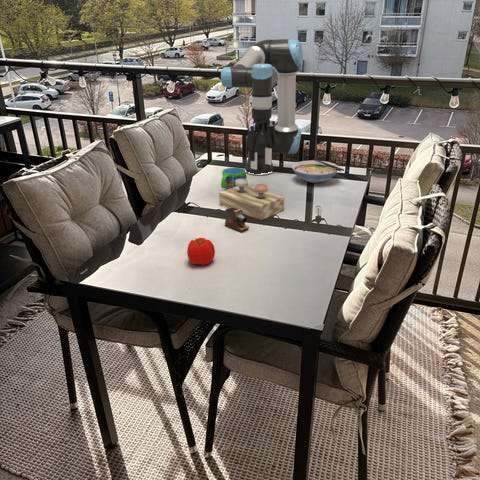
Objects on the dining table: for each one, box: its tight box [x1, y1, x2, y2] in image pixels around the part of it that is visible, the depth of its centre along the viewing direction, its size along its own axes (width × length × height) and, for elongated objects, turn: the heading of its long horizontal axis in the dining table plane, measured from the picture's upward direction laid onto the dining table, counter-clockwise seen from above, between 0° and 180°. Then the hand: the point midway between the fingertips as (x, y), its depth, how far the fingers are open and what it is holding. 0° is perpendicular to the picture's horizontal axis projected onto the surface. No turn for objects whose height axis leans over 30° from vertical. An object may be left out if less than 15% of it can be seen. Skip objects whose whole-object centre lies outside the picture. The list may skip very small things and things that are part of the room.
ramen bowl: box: [291, 158, 345, 184], centre depth 226 cm, size 25×23×8 cm
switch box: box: [219, 185, 285, 221], centre depth 194 cm, size 14×24×6 cm, turn 46°
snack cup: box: [220, 167, 248, 190], centre depth 212 cm, size 16×10×10 cm
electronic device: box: [224, 208, 251, 233], centre depth 175 cm, size 4×10×8 cm, turn 44°
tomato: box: [186, 237, 216, 266], centre depth 150 cm, size 9×9×8 cm
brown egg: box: [254, 183, 268, 199], centre depth 189 cm, size 5×5×6 cm
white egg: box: [235, 179, 249, 193], centre depth 196 cm, size 5×5×6 cm
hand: (261, 166), depth 184 cm, fingers open, 8 cm apart
